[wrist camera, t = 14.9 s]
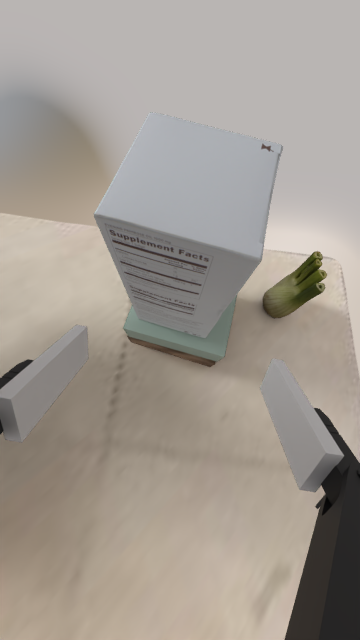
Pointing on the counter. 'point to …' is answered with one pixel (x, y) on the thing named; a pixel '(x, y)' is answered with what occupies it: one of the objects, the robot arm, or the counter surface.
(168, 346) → the tower top
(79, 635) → the counter surface
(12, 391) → the robot arm
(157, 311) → the supplement box
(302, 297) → the fennel bulb
